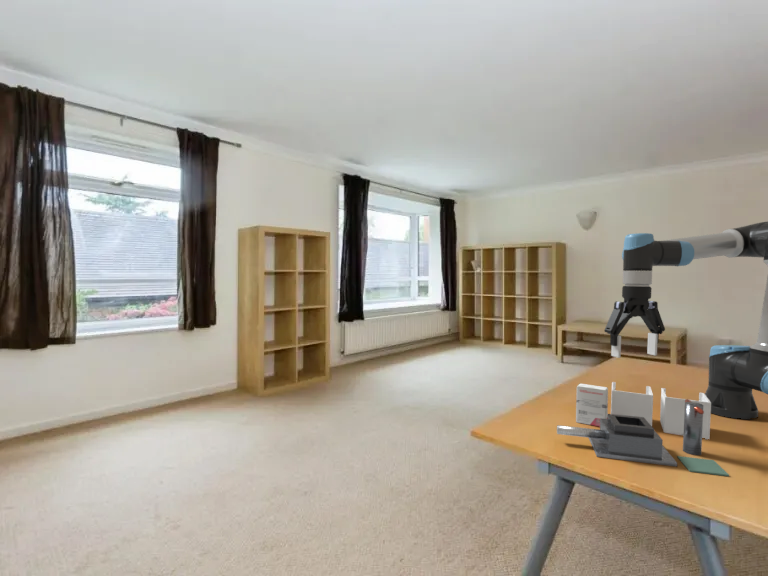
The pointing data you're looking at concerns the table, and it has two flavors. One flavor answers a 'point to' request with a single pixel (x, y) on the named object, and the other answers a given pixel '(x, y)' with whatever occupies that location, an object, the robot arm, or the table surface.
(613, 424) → the block
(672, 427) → the brackets
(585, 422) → the ink box
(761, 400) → the table surface
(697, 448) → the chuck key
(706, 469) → the rubber mat
